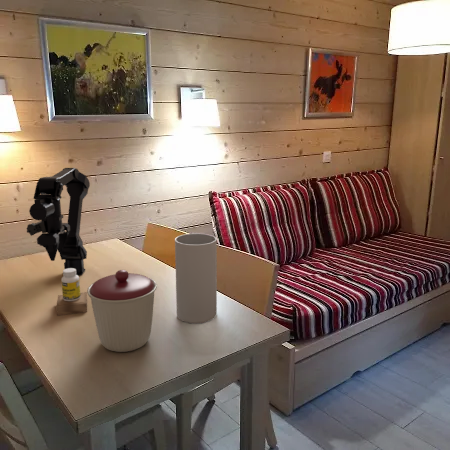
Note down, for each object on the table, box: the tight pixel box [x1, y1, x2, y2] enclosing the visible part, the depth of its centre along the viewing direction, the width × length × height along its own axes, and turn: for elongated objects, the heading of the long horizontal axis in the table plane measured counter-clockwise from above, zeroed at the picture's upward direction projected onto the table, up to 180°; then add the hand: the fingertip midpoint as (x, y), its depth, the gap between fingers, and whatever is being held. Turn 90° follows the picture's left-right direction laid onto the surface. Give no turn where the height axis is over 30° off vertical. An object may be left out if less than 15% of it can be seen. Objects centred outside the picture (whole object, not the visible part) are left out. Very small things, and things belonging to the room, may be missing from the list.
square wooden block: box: [55, 291, 88, 316], centre depth 138 cm, size 9×9×3 cm
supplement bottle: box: [60, 268, 81, 301], centre depth 137 cm, size 5×5×10 cm
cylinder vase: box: [174, 232, 218, 324], centre depth 131 cm, size 12×12×25 cm
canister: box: [86, 269, 158, 353], centre depth 115 cm, size 18×18×21 cm
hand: (56, 256), depth 152 cm, fingers open, 9 cm apart
